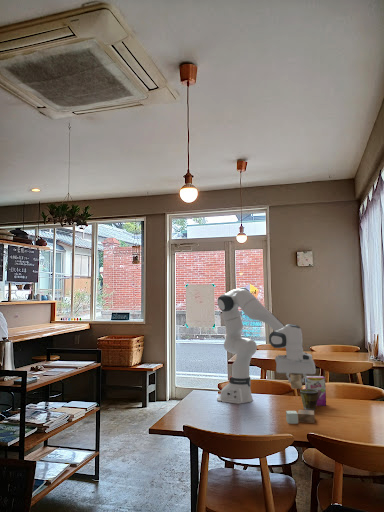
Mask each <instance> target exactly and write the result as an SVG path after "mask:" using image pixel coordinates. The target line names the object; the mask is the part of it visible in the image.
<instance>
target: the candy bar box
mask: <svg viewBox="0 0 384 512" xmlns="http://www.w3.org/2000/svg"><path fill="white" fill-rule="evenodd" d="M304 383H305V388H304V389H313V390H317V391H318V398H317V405H316V407H319V406H320V407H326V406H327V396H326V395H327V394H326V393H327V392H326V391H327V388H326V377H325V376H324V375H322V376H320V375H306V377H305V378H304Z"/></svg>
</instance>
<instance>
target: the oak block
mask: <svg viewBox="0 0 384 512" xmlns="http://www.w3.org/2000/svg"><path fill="white" fill-rule="evenodd" d="M290 378H291V382H290V387H291V389H295V390H296V389H297V390H302V387H303V384H302V383H301V379H302V374H293V373H290Z"/></svg>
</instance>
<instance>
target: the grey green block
mask: <svg viewBox="0 0 384 512" xmlns="http://www.w3.org/2000/svg"><path fill="white" fill-rule="evenodd" d="M285 418H286V419H285V421H286V422H287V424H296V425H297V424H299V422H298V411H296V410H285Z"/></svg>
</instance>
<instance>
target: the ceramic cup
mask: <svg viewBox="0 0 384 512" xmlns="http://www.w3.org/2000/svg"><path fill="white" fill-rule="evenodd" d="M299 390H300V391H299V393H300V397H301V398H300V399H301V403H302V406H303V410H312V411H315V410H316V409H317V406H316V405H317V398H318V391H317V390H313V389H306V388H304V389H302V388H301V389H299Z"/></svg>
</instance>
